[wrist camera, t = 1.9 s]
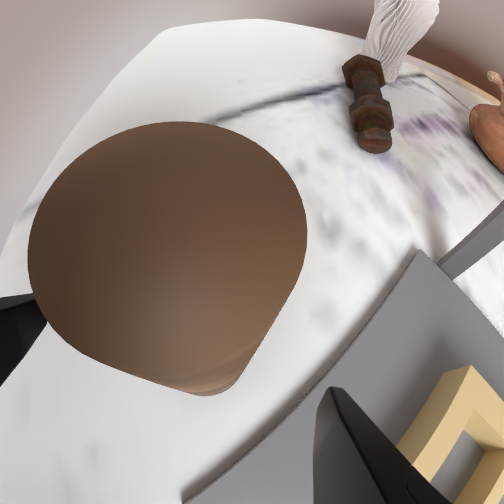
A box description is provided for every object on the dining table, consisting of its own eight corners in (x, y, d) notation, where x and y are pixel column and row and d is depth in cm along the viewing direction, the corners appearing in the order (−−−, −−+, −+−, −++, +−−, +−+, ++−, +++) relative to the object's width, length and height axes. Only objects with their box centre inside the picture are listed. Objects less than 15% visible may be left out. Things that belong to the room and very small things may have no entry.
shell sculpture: (407, 97, 35) (451, -5, 19) (354, 80, 34) (391, -33, 19) (393, 71, 39) (427, -17, 23) (346, 57, 38) (374, -39, 23)
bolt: (355, 168, 28) (350, 92, 35) (404, 164, 26) (386, 87, 33) (342, 123, 24) (338, 55, 31) (398, 117, 21) (377, 50, 28)
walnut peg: (256, 382, 16) (356, 314, 4) (175, 404, 15) (35, 395, 3) (231, 308, 18) (252, 107, 6) (155, 327, 17) (41, 156, 5)
